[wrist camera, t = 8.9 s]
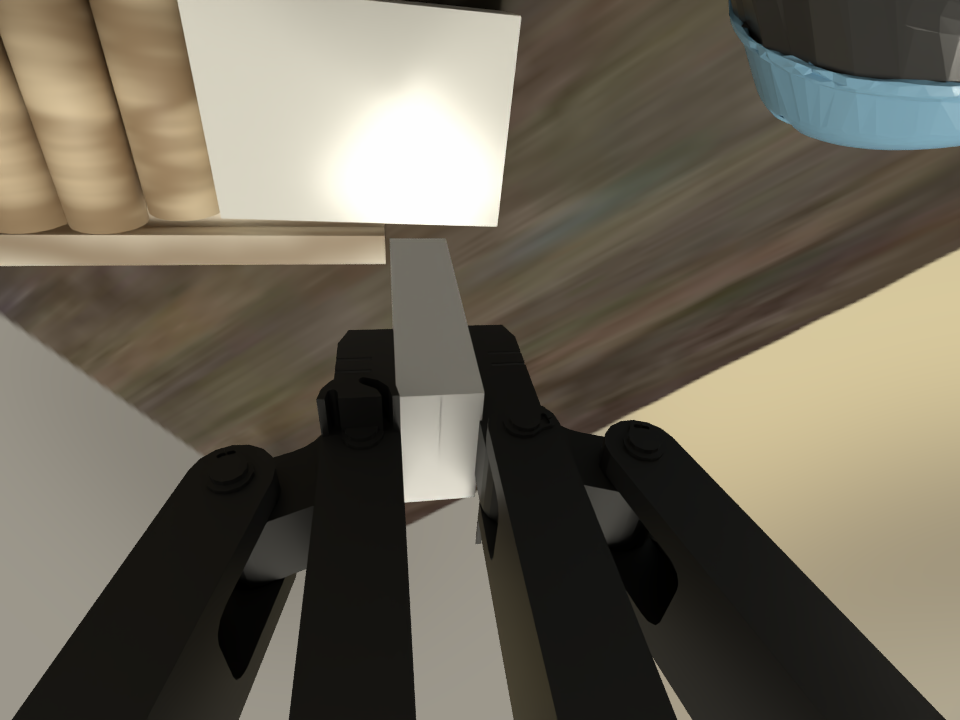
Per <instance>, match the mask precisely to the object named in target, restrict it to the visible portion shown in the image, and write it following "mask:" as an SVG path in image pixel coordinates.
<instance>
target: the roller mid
mask: <svg viewBox="0 0 960 720" xmlns="http://www.w3.org/2000/svg"><path fill="white" fill-rule="evenodd" d="M0 35H1V38H2V41H3V43H4V46H5V49H6V52H7V55H8V57H9V60H10V63H11V66H12V69H13V71H14V74H15V77H16V80H17V82H18V85H19V88H20V91H21V94H22V96H23V99H24V102H25V105H26V107H27V110H28V113H29V116H30V119H31V121H32V124H33V127H34V130H35V133H36V135H37V138H38V141H39V144H40V146H41V149H42V152H43V155H44V158H45V160H46V163H47V166H48V169H49V171H50V174H51V177H52V180H53V183H54V185H55V188H56V191H57V194H58V197H59V199H60V202H61V205H62V208H63V210H64V213H65V216H66V219H67V222H68V224H69V227H70V228H71V229H73V230H75V231H78V232H82V233H88V234H113V233H121V232H126V231H130V230H134V229H137V228H139V227H141V226H143V225H145V224H146V223H147V222H148V221H149V214H148V210H147V206H146V203H145V199H144V195H143V191H142V187H141V184H140V180H139V176H138V172H137V169H136V165H135V162H134V158H133V155H132V151H131V147H130V144H129V140H128V137H127V133H126V130H125V126H124V123H123V119H122V116H121V112H120V109H119V105H118V101H117V98H116V94H115V91H114V87H113V84H112V80H111V77H110V73H109V70H108V66H107V63H106V59H105V56H104V52H103V48H102V45H101V41H100V38H99V34H98V31H97V27H96V24H95V20H94V17H93V13H92V10H91V6H90V2H89V0H0Z"/></svg>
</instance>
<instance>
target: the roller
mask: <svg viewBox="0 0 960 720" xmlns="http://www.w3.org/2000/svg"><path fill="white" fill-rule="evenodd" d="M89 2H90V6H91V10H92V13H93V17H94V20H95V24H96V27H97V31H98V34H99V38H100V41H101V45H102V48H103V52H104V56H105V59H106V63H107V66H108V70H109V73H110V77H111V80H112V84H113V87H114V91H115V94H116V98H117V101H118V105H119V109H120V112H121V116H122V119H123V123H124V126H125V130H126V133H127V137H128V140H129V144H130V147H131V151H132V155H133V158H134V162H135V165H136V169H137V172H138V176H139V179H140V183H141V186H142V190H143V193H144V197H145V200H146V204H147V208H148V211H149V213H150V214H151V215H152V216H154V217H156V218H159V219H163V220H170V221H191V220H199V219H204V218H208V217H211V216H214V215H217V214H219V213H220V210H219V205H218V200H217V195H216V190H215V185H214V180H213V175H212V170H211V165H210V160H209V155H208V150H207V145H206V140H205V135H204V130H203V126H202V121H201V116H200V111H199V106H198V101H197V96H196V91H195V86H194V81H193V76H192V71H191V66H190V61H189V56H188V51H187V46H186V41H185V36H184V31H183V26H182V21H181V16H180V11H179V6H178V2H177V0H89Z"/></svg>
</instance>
